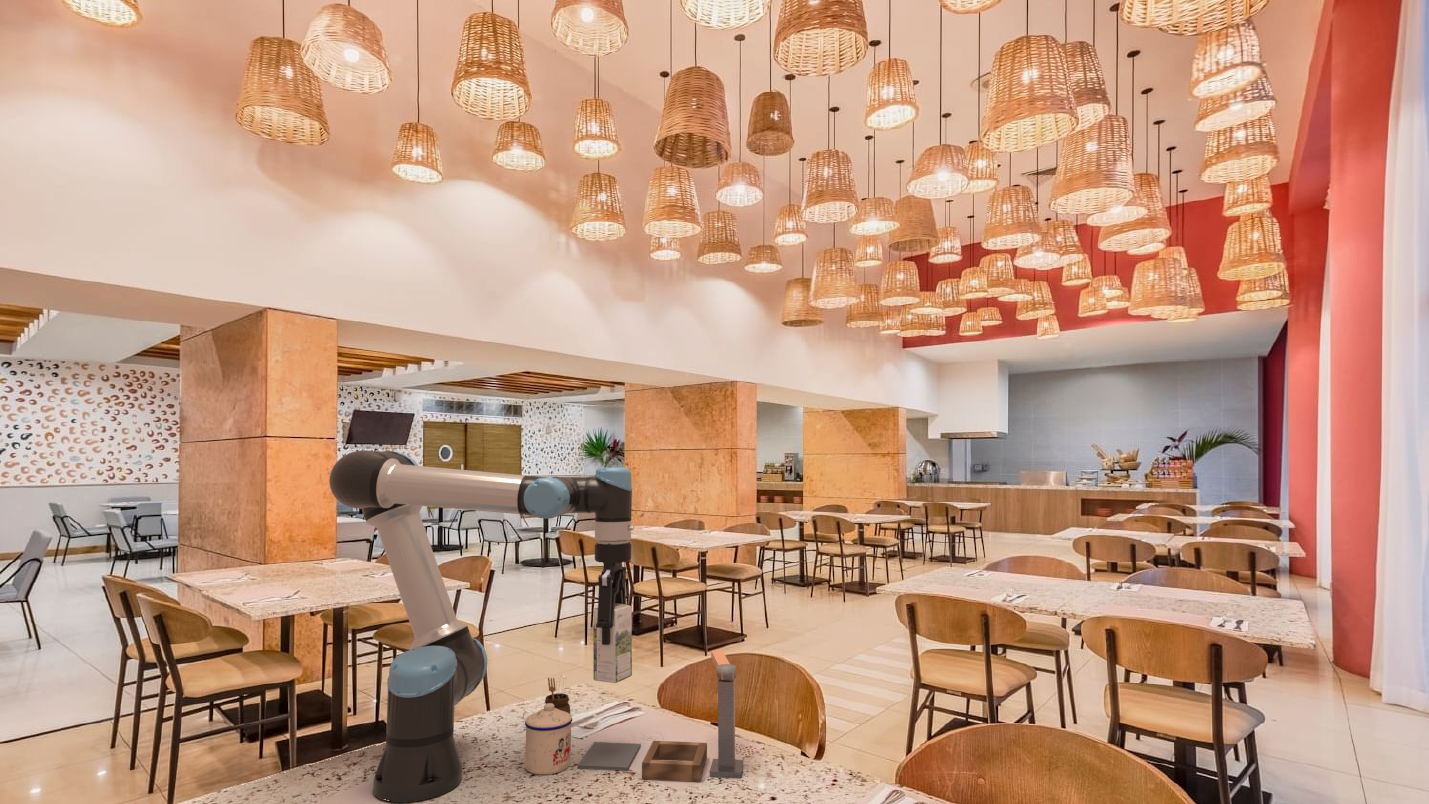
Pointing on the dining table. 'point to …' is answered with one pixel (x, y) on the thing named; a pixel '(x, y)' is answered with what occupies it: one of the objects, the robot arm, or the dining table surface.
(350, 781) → the dining table surface
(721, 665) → the bar
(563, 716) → the teacup with lid
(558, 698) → the utensil holder
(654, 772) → the socket collar
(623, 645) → the syrup box
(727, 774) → the clip post
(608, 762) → the slate mat
